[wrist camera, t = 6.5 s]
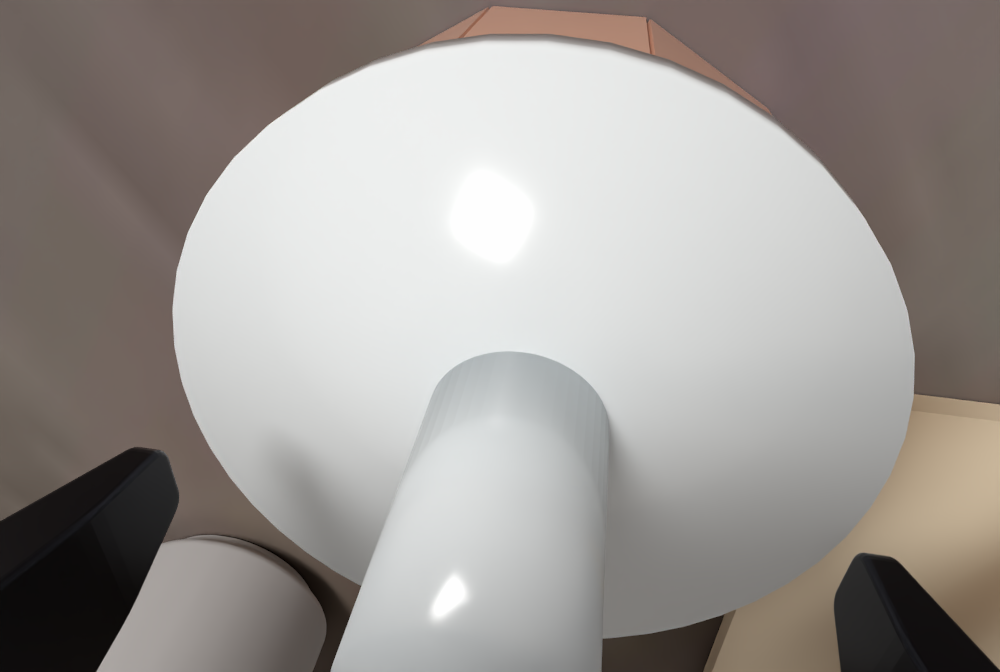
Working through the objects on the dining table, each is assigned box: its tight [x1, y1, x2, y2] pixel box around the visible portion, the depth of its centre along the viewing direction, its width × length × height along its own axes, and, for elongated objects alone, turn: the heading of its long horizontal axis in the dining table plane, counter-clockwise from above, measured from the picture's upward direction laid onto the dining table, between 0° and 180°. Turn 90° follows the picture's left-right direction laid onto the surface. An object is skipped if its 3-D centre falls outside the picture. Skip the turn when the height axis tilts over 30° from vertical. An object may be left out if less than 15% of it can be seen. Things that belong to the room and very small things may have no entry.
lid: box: [173, 34, 915, 672], centre depth 9 cm, size 11×11×5 cm
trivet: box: [703, 394, 1000, 672], centre depth 18 cm, size 12×12×1 cm
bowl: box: [417, 6, 772, 115], centre depth 13 cm, size 10×10×4 cm
